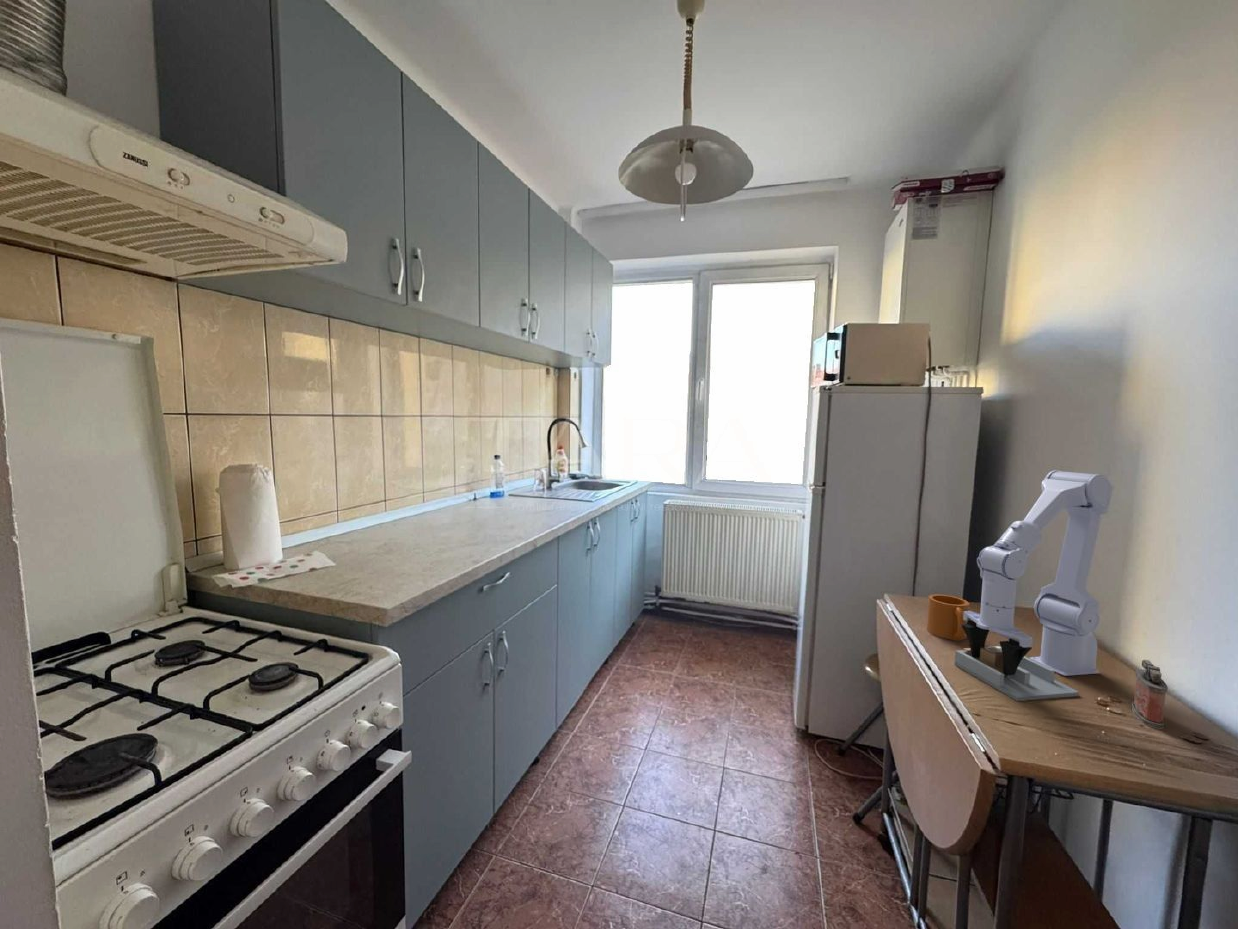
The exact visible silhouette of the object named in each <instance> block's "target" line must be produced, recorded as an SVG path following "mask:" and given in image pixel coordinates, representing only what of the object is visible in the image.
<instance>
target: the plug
mask: <svg viewBox="0 0 1238 929" xmlns="http://www.w3.org/2000/svg"><path fill="white" fill-rule="evenodd" d="M980 662H982V663H984V664H986V665H988V666H989V667H991V668H993V669H995V670H997V671H999V672H1001V673H1002V674H1004V673H1003V653H1002V650H1000V649H998V648H996V647H995V646H985V648H981V651H980ZM1004 677H1008V675H1005V674H1004Z"/></svg>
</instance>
